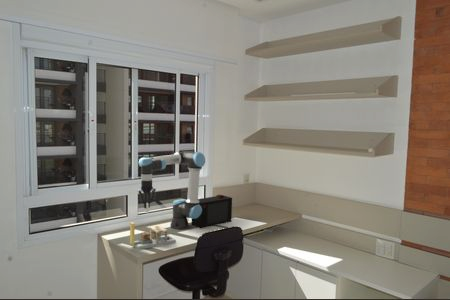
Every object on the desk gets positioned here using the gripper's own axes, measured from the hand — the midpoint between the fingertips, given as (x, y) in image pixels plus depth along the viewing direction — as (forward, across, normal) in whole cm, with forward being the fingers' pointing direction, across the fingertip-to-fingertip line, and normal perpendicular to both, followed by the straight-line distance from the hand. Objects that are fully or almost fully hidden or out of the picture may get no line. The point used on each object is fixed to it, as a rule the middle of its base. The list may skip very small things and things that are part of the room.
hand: (146, 212), depth 242 cm
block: (+20, +1, 0) cm, 20 cm away
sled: (+21, +5, 0) cm, 22 cm away
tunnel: (+22, -9, 0) cm, 23 cm away
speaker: (+25, -69, -22) cm, 77 cm away
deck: (+24, -5, 0) cm, 24 cm away
